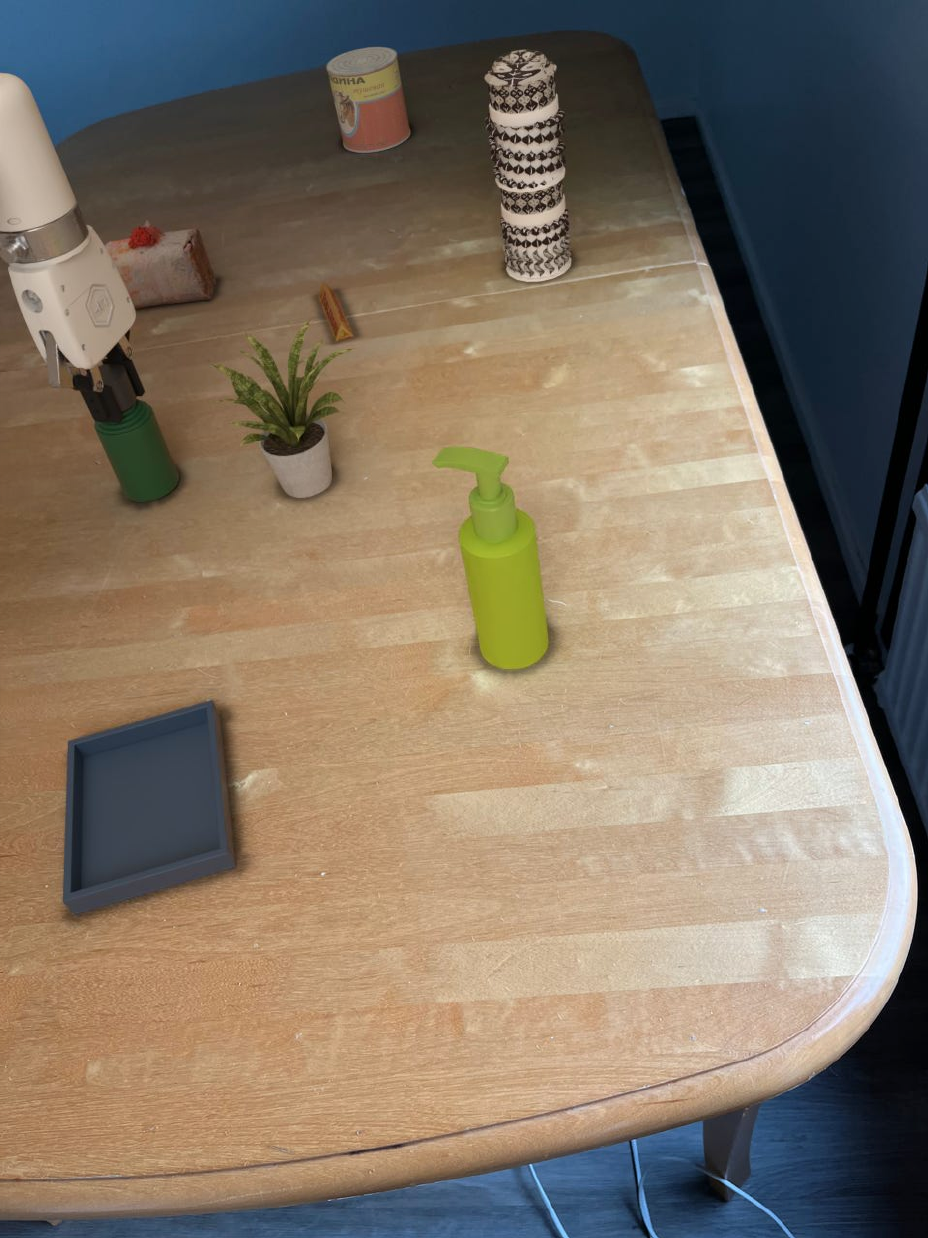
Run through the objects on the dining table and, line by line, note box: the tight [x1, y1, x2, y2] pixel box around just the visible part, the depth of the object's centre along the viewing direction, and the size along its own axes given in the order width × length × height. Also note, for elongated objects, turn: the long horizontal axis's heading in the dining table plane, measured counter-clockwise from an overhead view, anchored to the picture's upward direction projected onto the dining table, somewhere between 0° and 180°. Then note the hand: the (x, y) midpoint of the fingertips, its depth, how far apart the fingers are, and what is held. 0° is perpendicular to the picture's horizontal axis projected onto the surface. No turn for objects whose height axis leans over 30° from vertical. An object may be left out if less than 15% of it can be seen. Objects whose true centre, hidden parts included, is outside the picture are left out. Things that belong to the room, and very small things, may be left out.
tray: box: [62, 699, 237, 916], centre depth 80 cm, size 15×12×2 cm
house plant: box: [210, 318, 356, 499], centre depth 101 cm, size 14×14×16 cm
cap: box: [85, 364, 138, 412], centre depth 101 cm, size 4×4×3 cm
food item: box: [104, 219, 217, 310], centre depth 137 cm, size 14×8×10 cm, turn 89°
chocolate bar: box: [317, 281, 354, 342], centre depth 129 cm, size 3×12×2 cm, turn 16°
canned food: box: [325, 46, 412, 154], centre depth 164 cm, size 11×11×12 cm
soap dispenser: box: [432, 446, 550, 670], centre depth 80 cm, size 6×7×20 cm
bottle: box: [93, 398, 180, 503], centre depth 105 cm, size 6×6×13 cm
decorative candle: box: [484, 49, 572, 283], centre depth 122 cm, size 9×9×25 cm
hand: (119, 405), depth 102 cm, fingers closed on cap, 3 cm apart
